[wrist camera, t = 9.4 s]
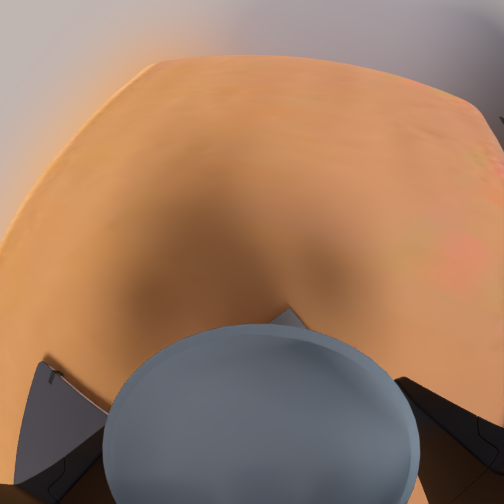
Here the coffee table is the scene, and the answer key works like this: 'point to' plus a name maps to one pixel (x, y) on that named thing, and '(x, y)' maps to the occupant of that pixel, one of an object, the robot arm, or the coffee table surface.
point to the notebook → (53, 422)
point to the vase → (260, 424)
